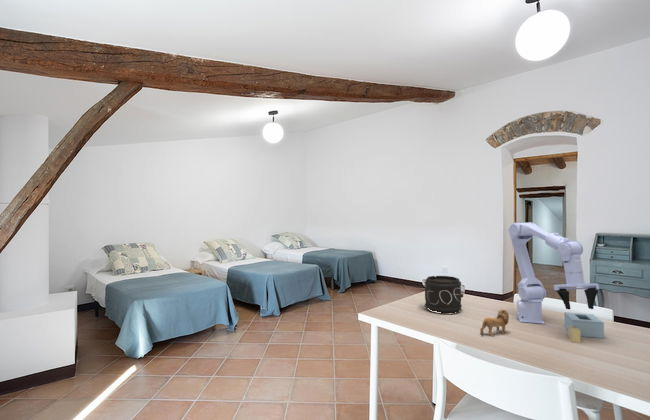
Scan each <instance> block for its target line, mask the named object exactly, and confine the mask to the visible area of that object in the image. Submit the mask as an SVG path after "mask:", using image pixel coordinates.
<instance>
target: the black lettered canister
mask: <svg viewBox="0 0 650 420" xmlns="http://www.w3.org/2000/svg"><path fill="white" fill-rule="evenodd" d="M424 285H425V287H424V300H425V301H424V302H425V303H424V307H426V309H427V308H429V309H430V310H432V311H437V312H441V313H455V312H459V313H460V311H461V310H462V306H463V305H462V298H464V293H462V282H461V281H460V278H458V277H454V276H449V275H436V276H435V275H432V276H431V275H430V276H427V277H426V279H425V280H424ZM459 310H460V311H459Z"/></svg>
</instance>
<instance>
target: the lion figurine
mask: <svg viewBox="0 0 650 420" xmlns="http://www.w3.org/2000/svg"><path fill="white" fill-rule="evenodd" d="M509 316H510V315H509V313H508V311H507V309H499V310H498V312H497V315H496V317H485V318H484V319H483V321H482V324H481V325H482V326H481V328H480V330H479V332H480V333H479V334H480V335H481V336H484V334H485V333H484V330H485V329H486V328H487V329H488V333H489V334H490V336H491V337H495V334H494V333H493V332H492V331H493V328H496V333H500V331H501V332H502V334H503V335H507V333H506V326H507V325H508V324H509V318H510V317H509ZM500 327H501V330H500Z"/></svg>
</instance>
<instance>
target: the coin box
mask: <svg viewBox="0 0 650 420" xmlns="http://www.w3.org/2000/svg"><path fill="white" fill-rule="evenodd" d="M563 314H564V316H563V317H564V327H565V328H566V330H568V326H575V327H577V328H578V329H579V330H580V334H581V337H586V338H587V337H588V338H598V339H605V322H604V321H603V320H601V319H600V318H598V317H597V315H595V314H593V313H592V314H591V313H581V312H579V313H578V312H570V311H569V312H564V313H563Z"/></svg>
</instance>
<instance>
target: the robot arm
mask: <svg viewBox="0 0 650 420" xmlns="http://www.w3.org/2000/svg"><path fill="white" fill-rule="evenodd" d="M508 233H509V237H510V242H511V244H512V249H513V253H514V256H515V260H516V264H517V267H518V270H519V275H520V279H521V280H520V281H519V282H518V283H517V288H518V289H517V292H518V296H519V298H520V299H517V301H516V306H517V307H516V309H517V311H516V312H517V313H516V315H517V319H518V321H519V322H520V323H531V324H544V325H545V323H546V322H545V321H544V320H543V307H542V306H543V305H542V303H543V302H544V299H545V298H546V295H547V291H546V288H545V287H544V285H543V283H542V281H541V280H539V279H538V278H537V277H536V276H535V271H534V268H533V266H532V261H531V259H530V255H529V251H528V248H527V242H529V241H530V240H531V239H532V238H533V237H537V238H539V239H541V240H543V241H544V242H545V244H546V245H547V247H550V248H552V249H554V250H556V251H557V253H558V254H559V256H560V258H561V259H560V260H561V261H562V263H563V269H564V275H565V282H566V283H565V284H563V283H561V284H553V290H554V291H556V293H557V294H558V296H559V297H560V298H561V301H562V302H563V304H564V307H565V309H566V310H571V303H570V291H568V290H583V291H584V294H585V297H586V302H587V308H588V309H589V310H594V307H595V306H594V305H595V301H596V297H597V296H598V293H599V289H600V286H599V283H585V277H584V271H583V264H582V257H581V255H583V253H584V247H583V245H582V244H581V243H580V242H579V241H577V240H573V241H571V240H570V239H569V238H567V237H565V236H561V235H560V233H558V232H551V233H549V232H548V231H546V230H544V229H543V228H541V227H540V226H538V224H536V223H534V222H533V221H532V222H531V221H529V222H513V223H511V224H510V225H509V228H508Z"/></svg>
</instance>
